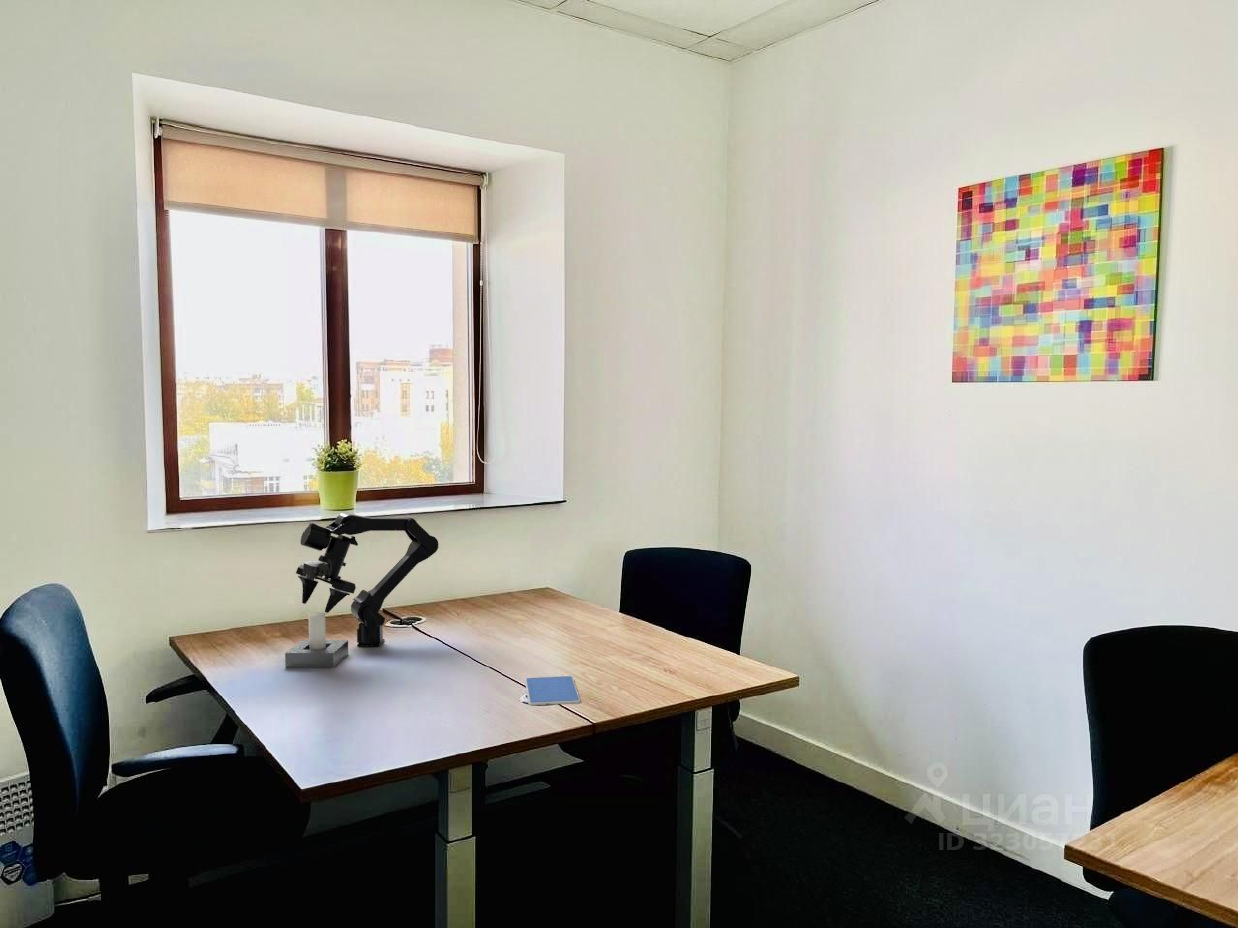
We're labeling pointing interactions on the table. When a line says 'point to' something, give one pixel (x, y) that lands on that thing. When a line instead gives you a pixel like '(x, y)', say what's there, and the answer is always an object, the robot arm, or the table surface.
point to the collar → (316, 655)
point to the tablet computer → (551, 690)
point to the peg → (317, 631)
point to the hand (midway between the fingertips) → (314, 607)
